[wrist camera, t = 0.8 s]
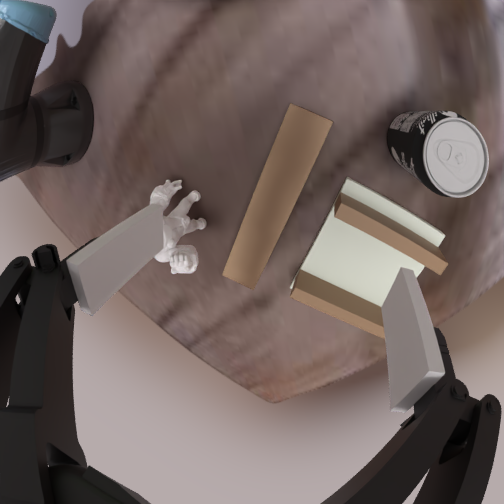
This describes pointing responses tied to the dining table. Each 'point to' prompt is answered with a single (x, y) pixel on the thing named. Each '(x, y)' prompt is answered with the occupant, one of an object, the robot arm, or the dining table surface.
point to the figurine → (177, 228)
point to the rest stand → (364, 256)
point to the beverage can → (440, 151)
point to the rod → (276, 193)
